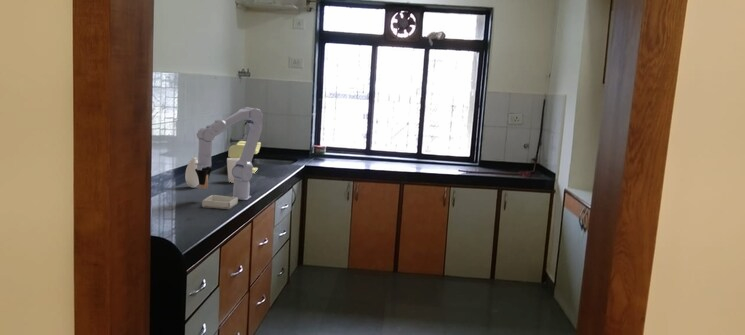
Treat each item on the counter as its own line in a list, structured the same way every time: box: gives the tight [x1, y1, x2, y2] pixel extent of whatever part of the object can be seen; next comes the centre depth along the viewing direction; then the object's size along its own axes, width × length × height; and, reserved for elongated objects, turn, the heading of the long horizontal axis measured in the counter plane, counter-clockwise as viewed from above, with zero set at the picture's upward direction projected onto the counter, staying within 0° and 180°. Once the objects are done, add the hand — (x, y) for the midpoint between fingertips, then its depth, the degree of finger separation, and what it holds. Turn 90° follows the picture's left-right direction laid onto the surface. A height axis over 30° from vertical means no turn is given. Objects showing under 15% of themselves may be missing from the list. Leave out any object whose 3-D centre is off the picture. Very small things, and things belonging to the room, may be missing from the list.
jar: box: [198, 174, 209, 190], centre depth 261 cm, size 4×4×7 cm
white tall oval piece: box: [184, 152, 199, 189], centre depth 292 cm, size 8×8×18 cm
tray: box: [201, 194, 239, 210], centre depth 256 cm, size 14×12×3 cm
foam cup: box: [226, 157, 239, 184], centre depth 320 cm, size 10×9×13 cm
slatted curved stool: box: [227, 140, 262, 174], centre depth 365 cm, size 30×16×18 cm, turn 5°
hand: (203, 183), depth 261 cm, fingers closed on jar, 4 cm apart
